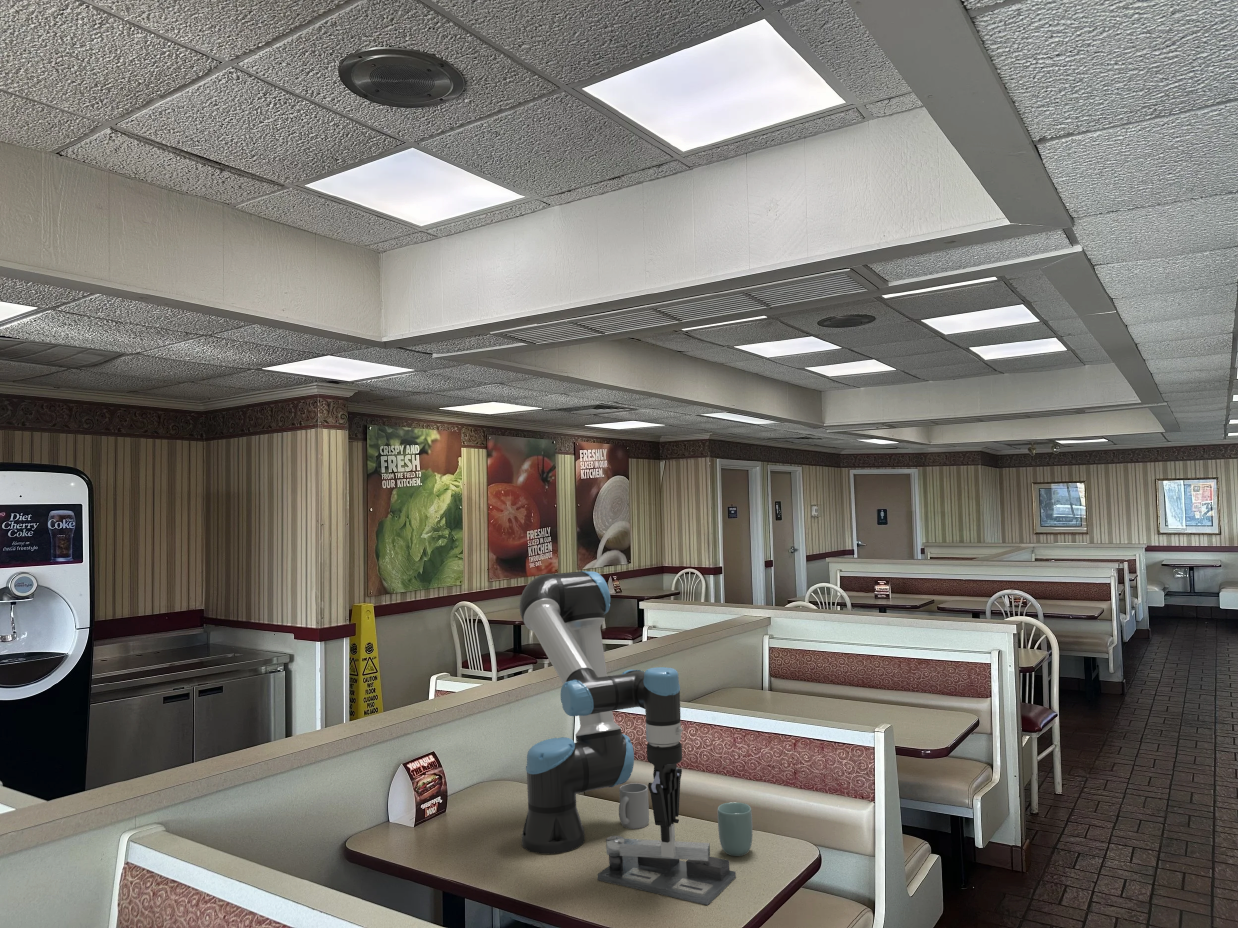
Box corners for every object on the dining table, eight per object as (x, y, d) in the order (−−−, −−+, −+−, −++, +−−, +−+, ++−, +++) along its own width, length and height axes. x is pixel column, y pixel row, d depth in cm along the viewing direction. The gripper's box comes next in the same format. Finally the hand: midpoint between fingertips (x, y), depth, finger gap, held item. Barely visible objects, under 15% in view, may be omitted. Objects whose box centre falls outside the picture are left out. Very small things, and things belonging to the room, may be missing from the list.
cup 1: (654, 821, 212) (653, 785, 212) (633, 835, 203) (631, 797, 204) (630, 816, 216) (629, 781, 216) (608, 829, 207) (607, 793, 208)
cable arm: (604, 855, 181) (604, 842, 181) (609, 848, 185) (608, 835, 185) (707, 861, 176) (707, 847, 176) (710, 853, 180) (709, 840, 180)
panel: (597, 879, 179) (596, 859, 180) (630, 855, 191) (629, 836, 192) (707, 905, 166) (706, 883, 166) (735, 877, 178) (734, 857, 178)
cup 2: (752, 860, 186) (750, 814, 187) (717, 858, 188) (715, 813, 188) (754, 846, 194) (752, 802, 194) (720, 844, 195) (718, 801, 196)
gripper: (668, 751, 171) (672, 869, 170) (691, 736, 183) (696, 847, 181) (635, 748, 175) (639, 864, 173) (660, 733, 186) (664, 842, 185)
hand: (668, 855), depth 177 cm, fingers closed
